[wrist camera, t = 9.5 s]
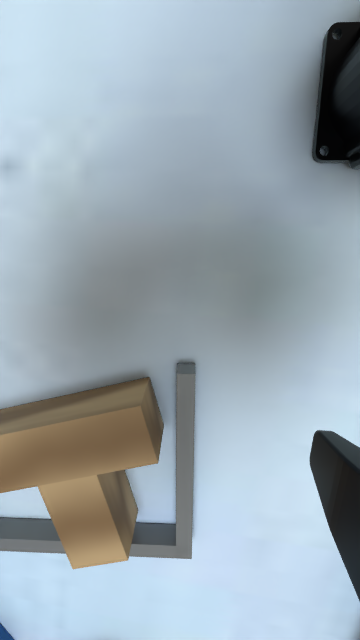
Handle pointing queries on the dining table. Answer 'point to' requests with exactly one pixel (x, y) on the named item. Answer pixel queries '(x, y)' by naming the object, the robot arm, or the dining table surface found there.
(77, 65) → the dining table surface
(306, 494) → the dining table surface
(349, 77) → the robot arm
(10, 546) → the fence pocket
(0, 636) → the milk carton
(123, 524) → the t block
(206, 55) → the dining table surface
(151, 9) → the dining table surface
